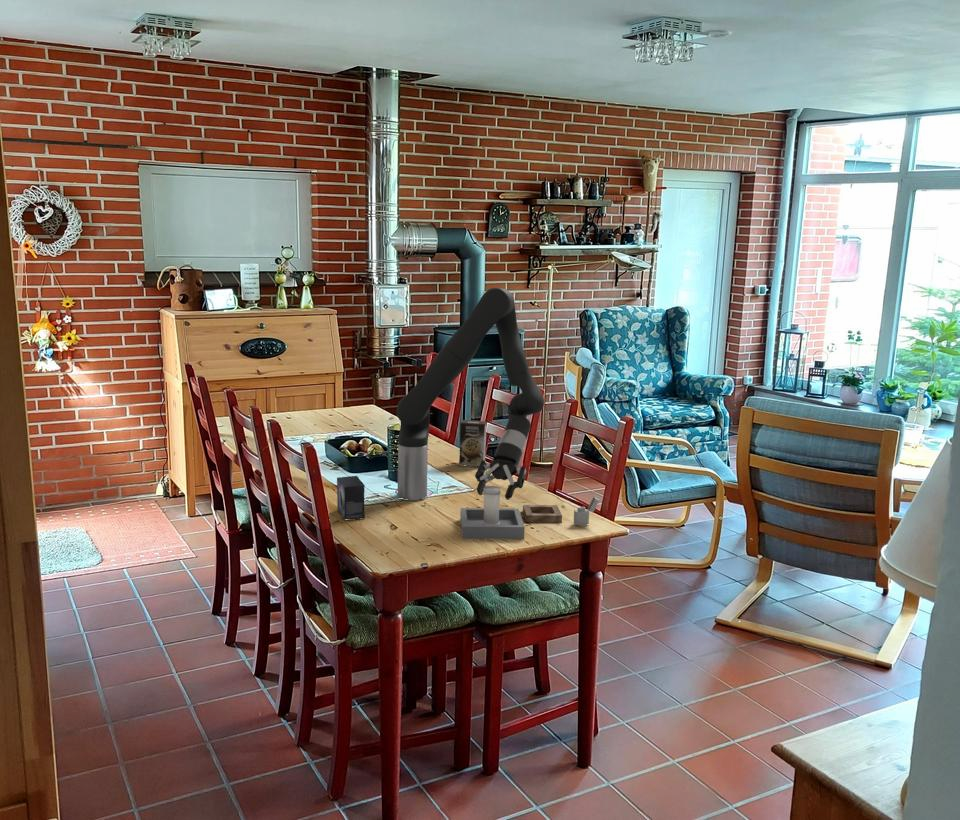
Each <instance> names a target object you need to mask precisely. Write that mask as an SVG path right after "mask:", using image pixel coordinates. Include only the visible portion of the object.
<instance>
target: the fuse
mask: <svg viewBox="0 0 960 820" xmlns="http://www.w3.org/2000/svg"><path fill="white" fill-rule="evenodd" d="M501 489H502V488H501V487H500V486H496V485H488V486H487V485H485V487H484V491H483V508H484V520H483V525H500V521H499V508H500V503H501V502H500V500H501V499H500V497H501V496H500V495H501V492H502V491H501Z"/></svg>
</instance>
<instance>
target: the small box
mask: <svg viewBox="0 0 960 820" xmlns="http://www.w3.org/2000/svg"><path fill="white" fill-rule="evenodd" d="M365 487H366V486H365V484H364V483H363V481H362V480H361V479H360V477H358V476H357V475H349V476H348V475H347V476H338V477H336V494H337V498H336V500H337V502H336V504H337V506H336V507H337V511H338V513H339V512H340V513H339V514H340V516H341V515H342V516H343V517H342V516H341V517H342V518H344V519H358V518H365V519H366V513H365V510H366V509H365V506H366V504H365ZM344 519H343V520H344ZM358 520H359V519H358Z"/></svg>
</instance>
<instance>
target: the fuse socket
mask: <svg viewBox="0 0 960 820" xmlns="http://www.w3.org/2000/svg"><path fill="white" fill-rule="evenodd" d="M522 513H523V515H524V519H525V521H526V523H562V522H563V514H562V513H561V510H560V508H559V505H557V504H523V505H522Z"/></svg>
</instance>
